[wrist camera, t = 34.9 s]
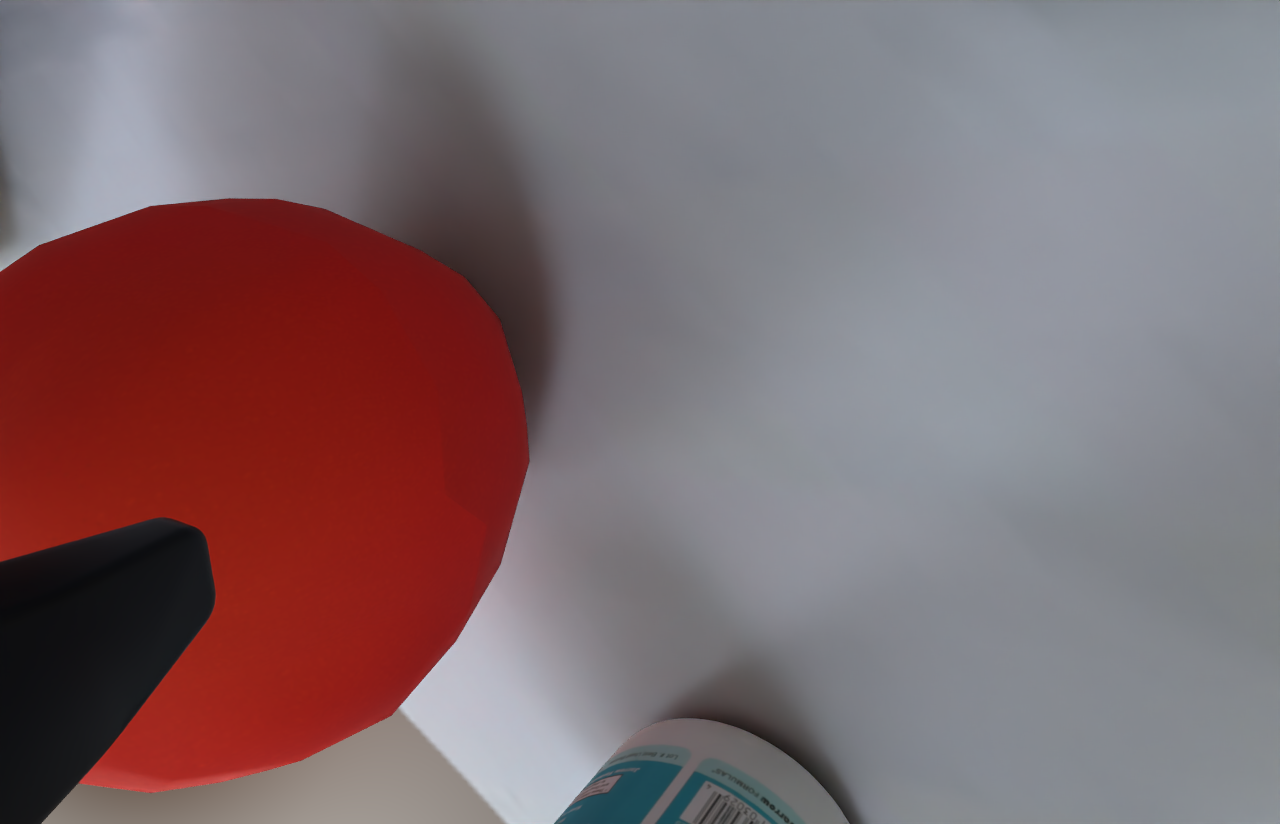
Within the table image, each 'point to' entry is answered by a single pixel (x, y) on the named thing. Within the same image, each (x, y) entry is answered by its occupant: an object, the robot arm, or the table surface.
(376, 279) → the tomato
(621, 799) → the pill bottle
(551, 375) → the table surface
